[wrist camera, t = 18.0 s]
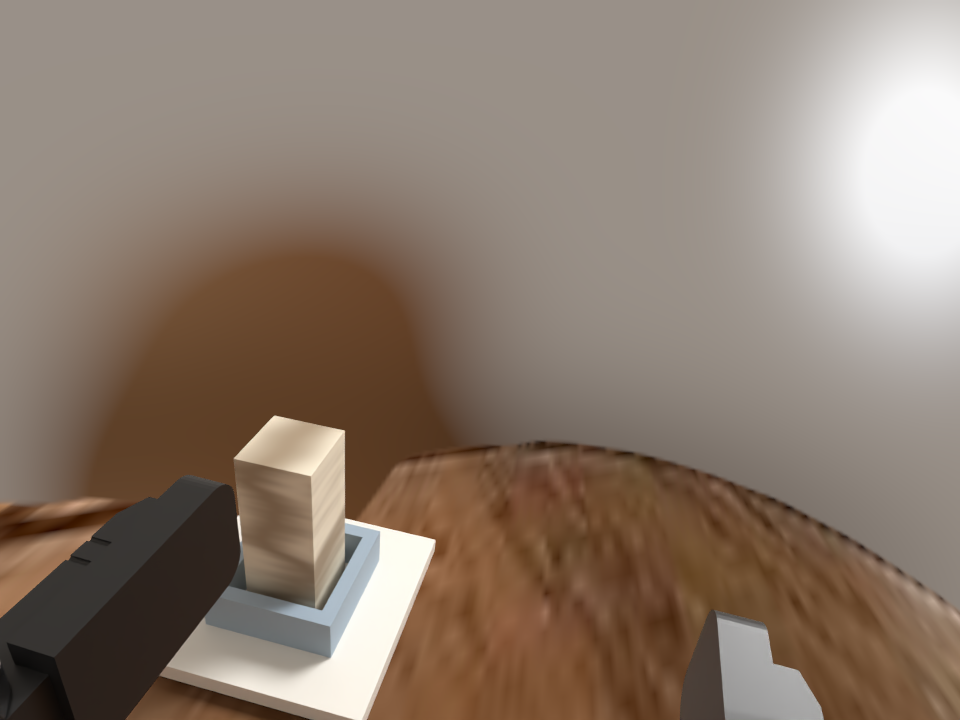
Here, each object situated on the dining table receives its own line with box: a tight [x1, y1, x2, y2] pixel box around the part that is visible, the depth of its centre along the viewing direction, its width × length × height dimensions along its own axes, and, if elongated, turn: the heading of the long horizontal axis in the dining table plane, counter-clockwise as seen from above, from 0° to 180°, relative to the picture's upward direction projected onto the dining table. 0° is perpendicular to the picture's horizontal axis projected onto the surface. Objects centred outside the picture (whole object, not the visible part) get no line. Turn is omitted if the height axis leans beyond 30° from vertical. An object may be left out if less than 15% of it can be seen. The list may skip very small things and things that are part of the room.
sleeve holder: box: [159, 516, 435, 720], centre depth 47 cm, size 16×16×4 cm
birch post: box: [234, 416, 345, 610], centre depth 45 cm, size 5×5×13 cm
